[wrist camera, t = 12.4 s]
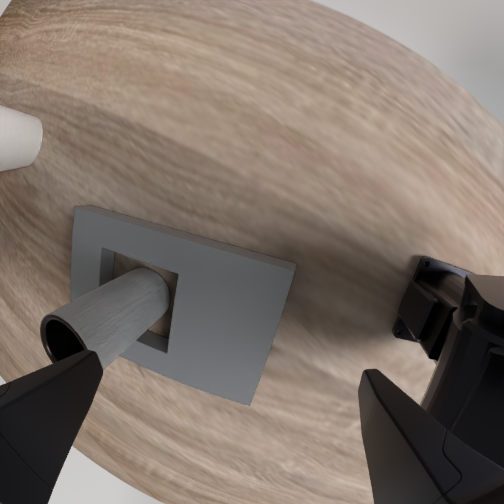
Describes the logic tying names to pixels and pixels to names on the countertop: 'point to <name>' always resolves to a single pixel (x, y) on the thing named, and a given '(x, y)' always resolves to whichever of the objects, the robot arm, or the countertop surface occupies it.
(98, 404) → the countertop surface
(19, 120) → the dixie cup
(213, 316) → the socket board
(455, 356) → the robot arm
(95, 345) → the gray tube
